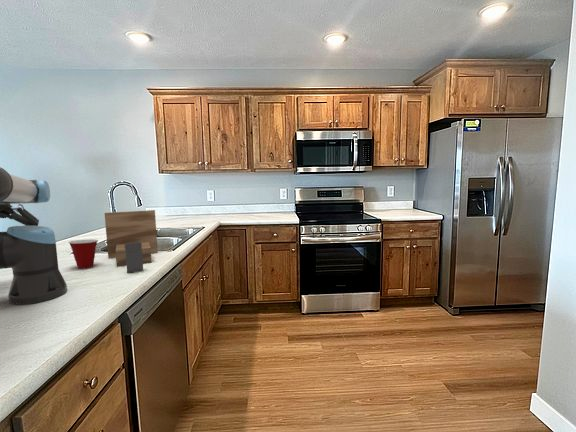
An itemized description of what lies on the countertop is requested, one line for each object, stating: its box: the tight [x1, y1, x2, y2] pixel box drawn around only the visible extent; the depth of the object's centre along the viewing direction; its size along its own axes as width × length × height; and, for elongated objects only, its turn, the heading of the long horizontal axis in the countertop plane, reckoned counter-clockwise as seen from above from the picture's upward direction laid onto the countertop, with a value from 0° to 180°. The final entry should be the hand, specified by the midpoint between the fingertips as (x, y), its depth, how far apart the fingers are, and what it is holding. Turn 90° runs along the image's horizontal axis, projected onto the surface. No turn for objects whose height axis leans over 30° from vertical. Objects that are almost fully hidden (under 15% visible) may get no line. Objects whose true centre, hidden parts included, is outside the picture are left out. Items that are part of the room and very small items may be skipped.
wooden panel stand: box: [104, 209, 158, 268], centre depth 145 cm, size 20×22×22 cm
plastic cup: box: [68, 238, 99, 270], centre depth 134 cm, size 11×11×12 cm
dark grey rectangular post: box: [125, 242, 144, 274], centre depth 127 cm, size 3×6×12 cm, turn 118°
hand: (10, 239), depth 120 cm, fingers open, 13 cm apart
